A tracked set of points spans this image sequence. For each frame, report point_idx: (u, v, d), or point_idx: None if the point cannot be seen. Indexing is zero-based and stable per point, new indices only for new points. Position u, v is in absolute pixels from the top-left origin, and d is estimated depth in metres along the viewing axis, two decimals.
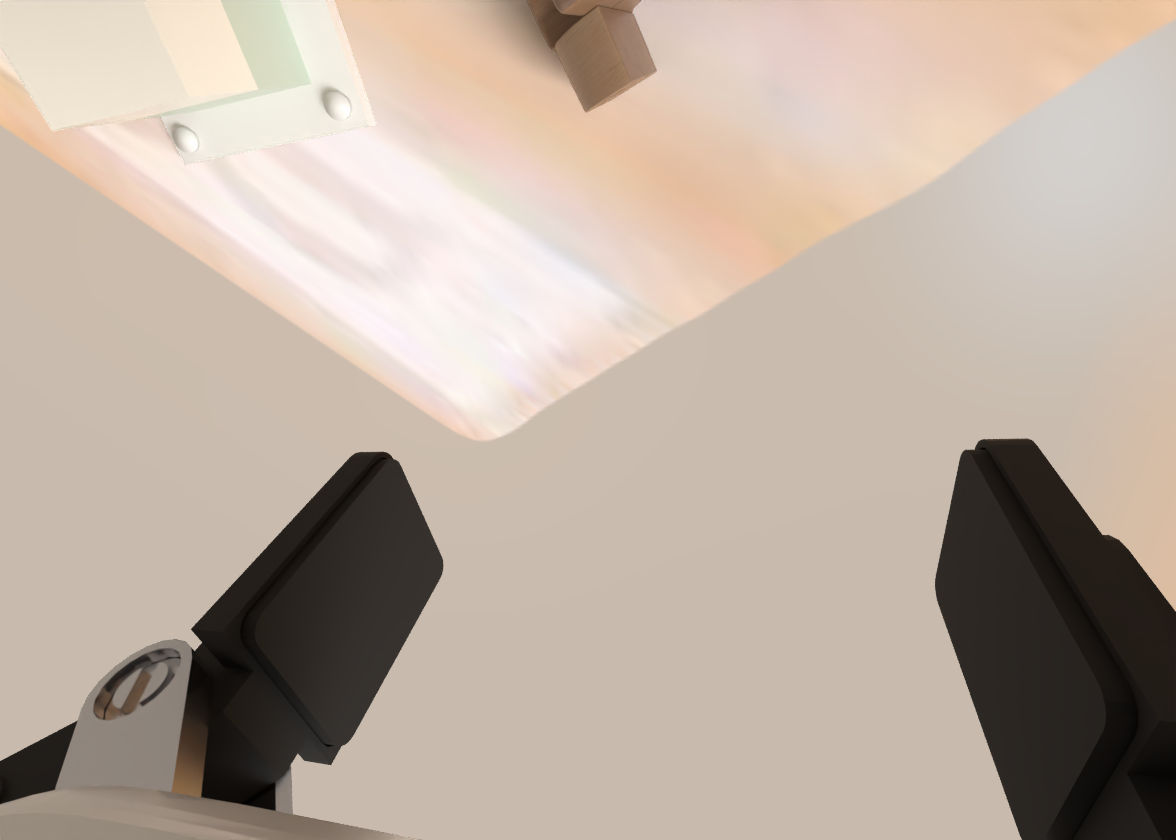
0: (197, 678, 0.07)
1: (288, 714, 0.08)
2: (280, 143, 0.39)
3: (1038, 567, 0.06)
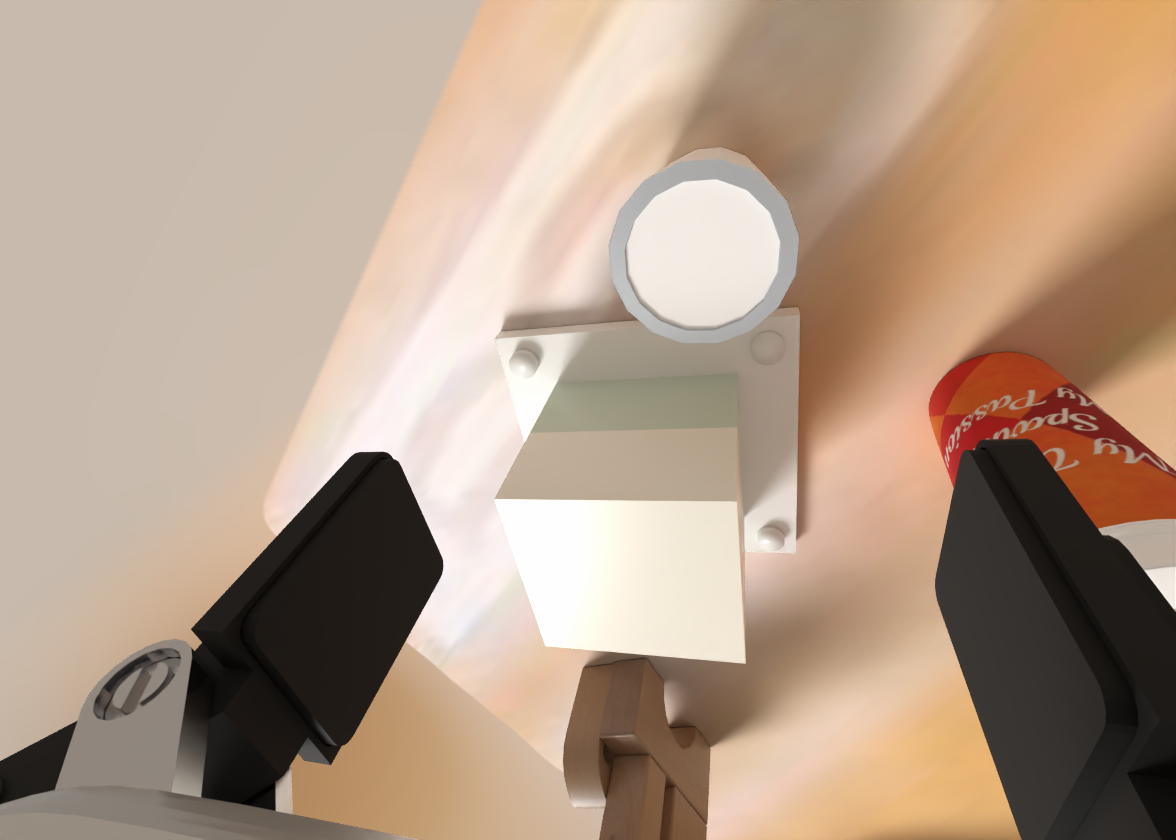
0: (197, 678, 0.07)
1: (288, 713, 0.08)
2: None
3: (1037, 567, 0.06)
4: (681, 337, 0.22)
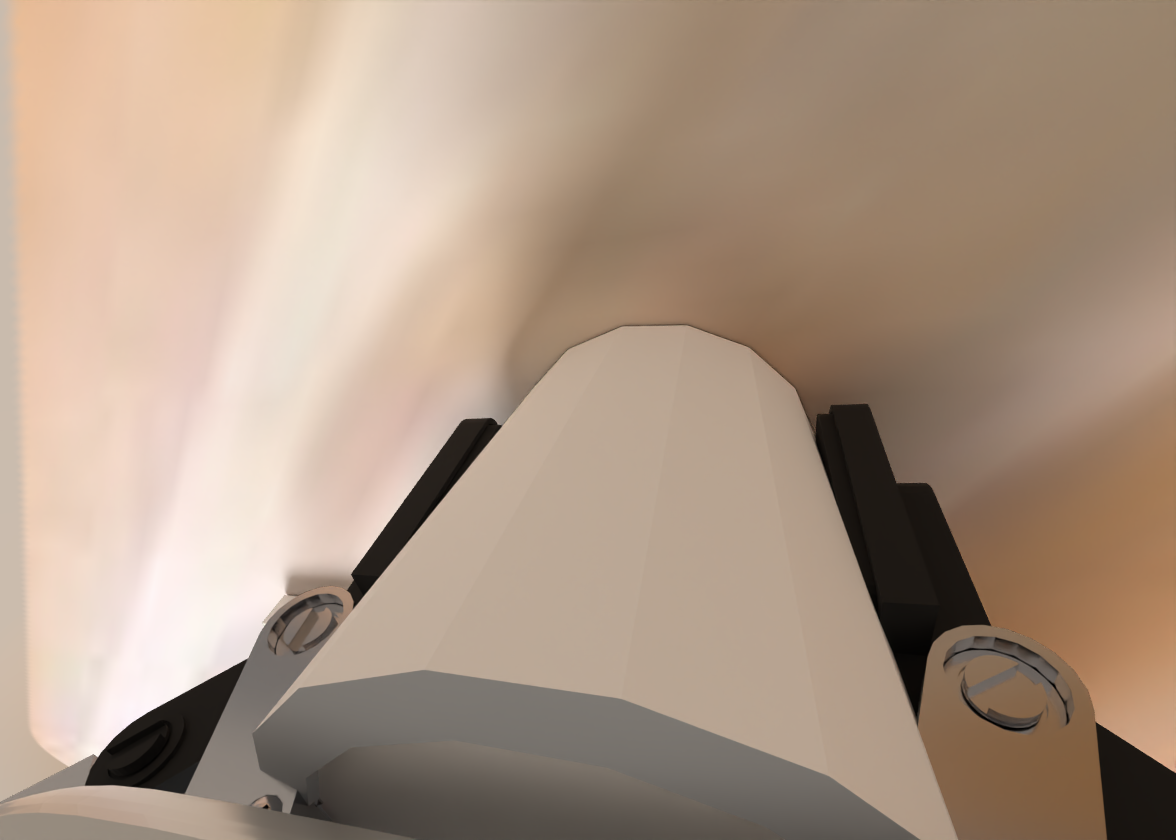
0: None
1: None
2: None
3: (840, 501, 0.07)
4: None
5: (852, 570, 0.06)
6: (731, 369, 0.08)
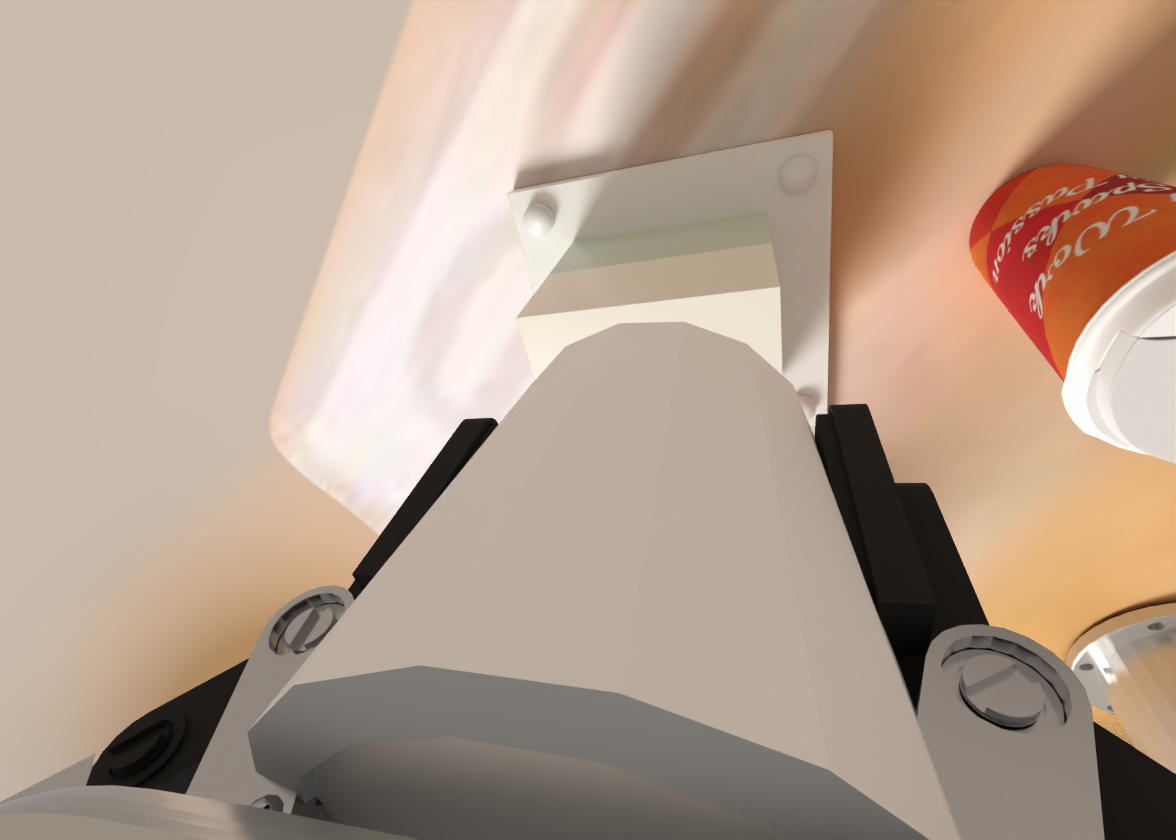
0: None
1: None
2: None
3: (839, 501, 0.07)
4: None
5: (851, 565, 0.06)
6: (729, 365, 0.08)
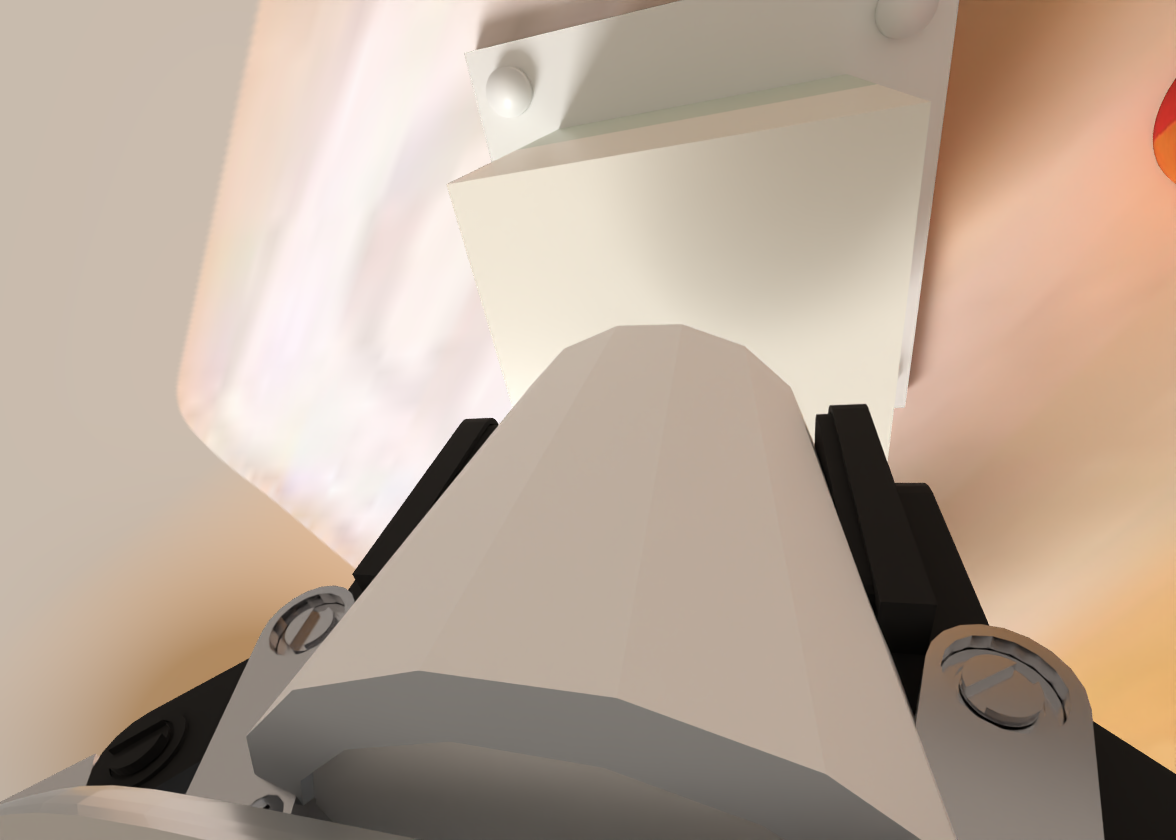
0: None
1: None
2: None
3: (839, 501, 0.07)
4: None
5: (848, 568, 0.06)
6: (727, 368, 0.08)
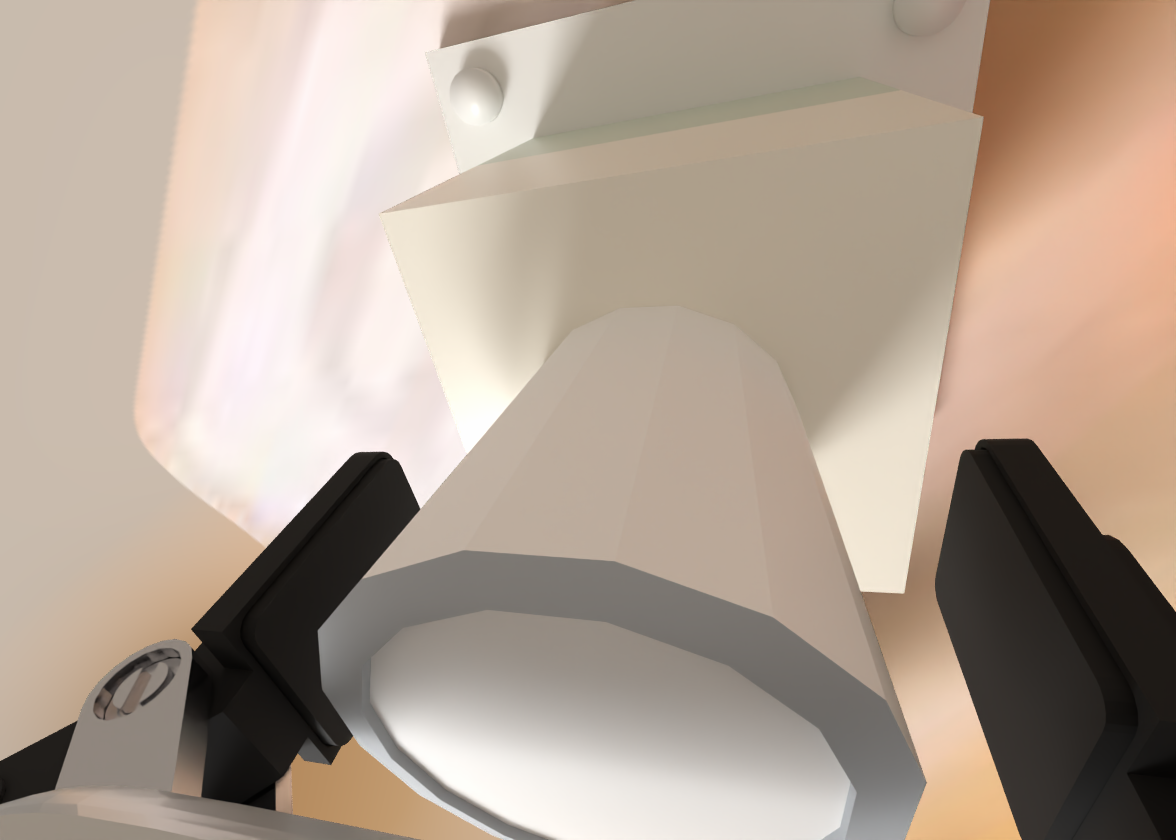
0: (197, 678, 0.07)
1: (288, 713, 0.08)
2: None
3: (1038, 567, 0.06)
4: None
5: (814, 499, 0.07)
6: (716, 341, 0.09)
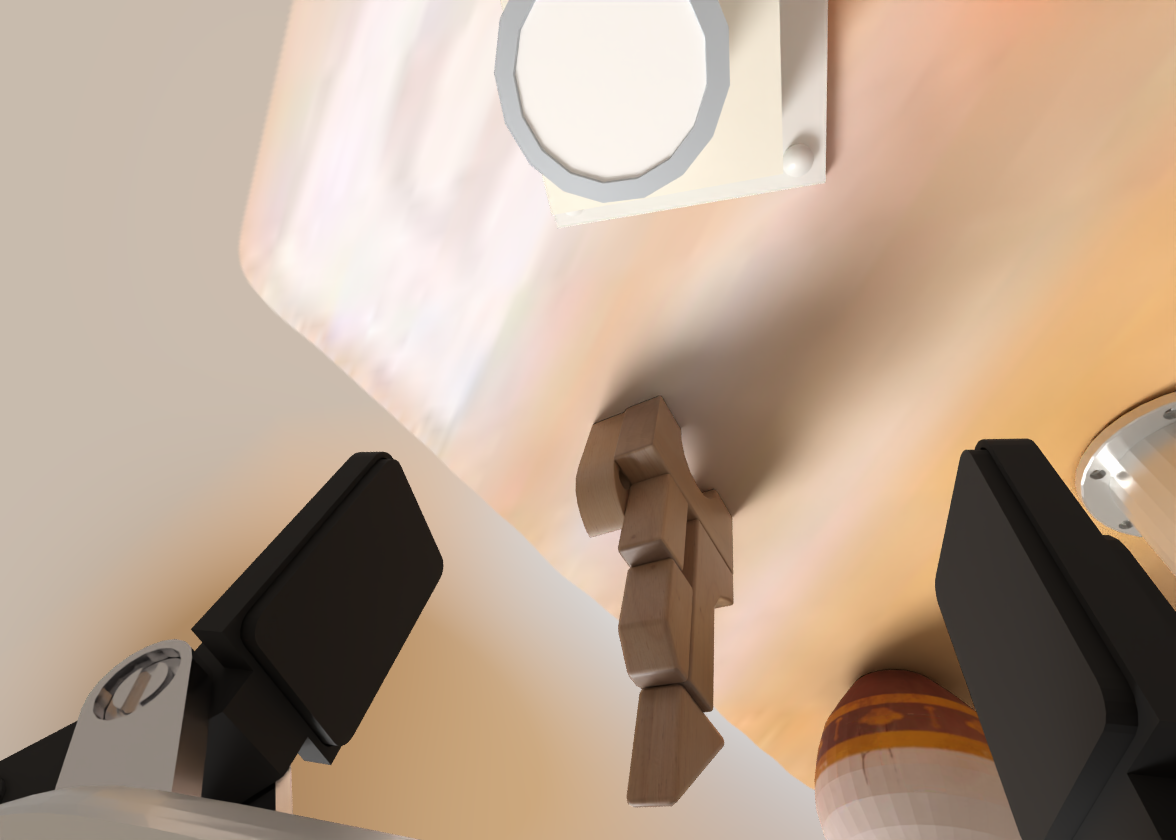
0: (197, 678, 0.07)
1: (288, 713, 0.08)
2: None
3: (1038, 567, 0.06)
4: (599, 194, 0.18)
5: None
6: None
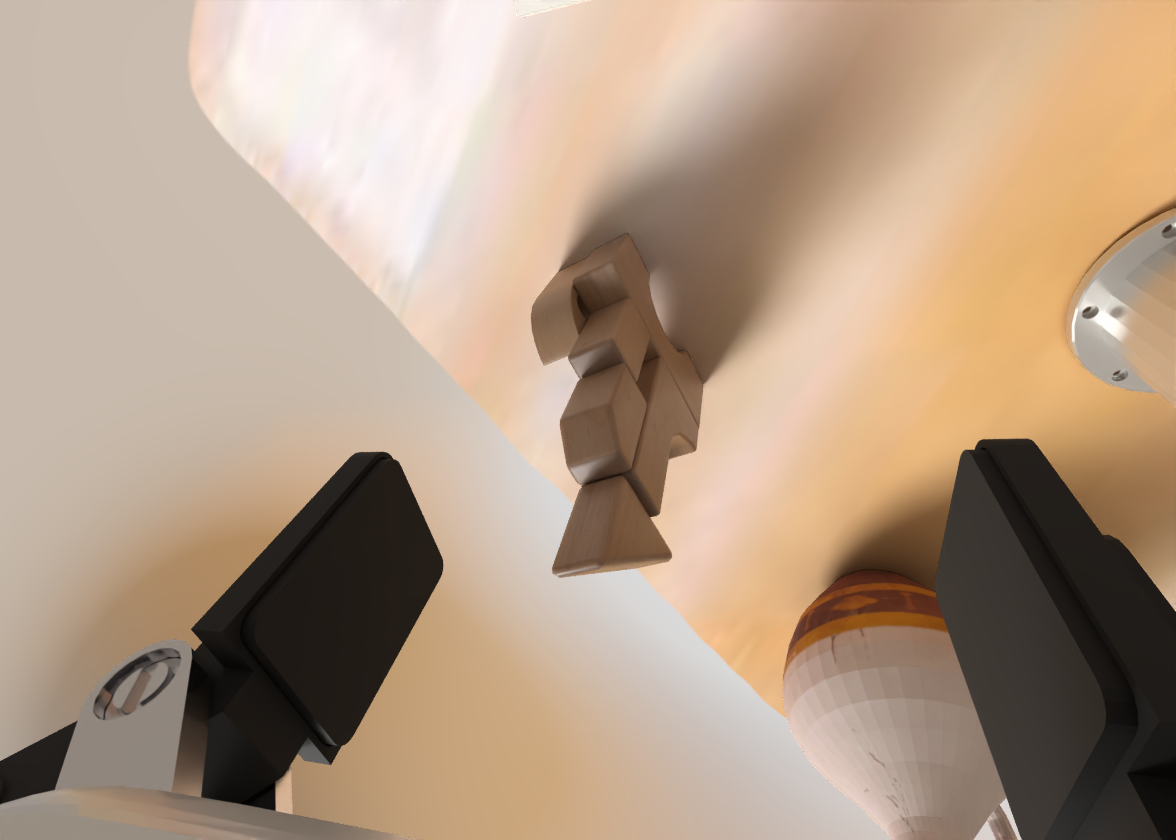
0: (197, 678, 0.07)
1: (287, 714, 0.08)
2: None
3: (1038, 567, 0.06)
4: None
5: None
6: None
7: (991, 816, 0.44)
